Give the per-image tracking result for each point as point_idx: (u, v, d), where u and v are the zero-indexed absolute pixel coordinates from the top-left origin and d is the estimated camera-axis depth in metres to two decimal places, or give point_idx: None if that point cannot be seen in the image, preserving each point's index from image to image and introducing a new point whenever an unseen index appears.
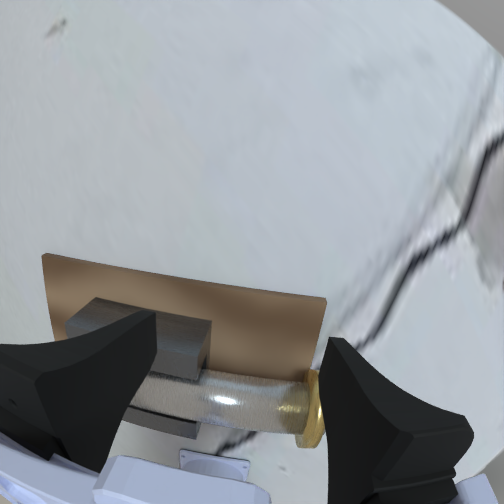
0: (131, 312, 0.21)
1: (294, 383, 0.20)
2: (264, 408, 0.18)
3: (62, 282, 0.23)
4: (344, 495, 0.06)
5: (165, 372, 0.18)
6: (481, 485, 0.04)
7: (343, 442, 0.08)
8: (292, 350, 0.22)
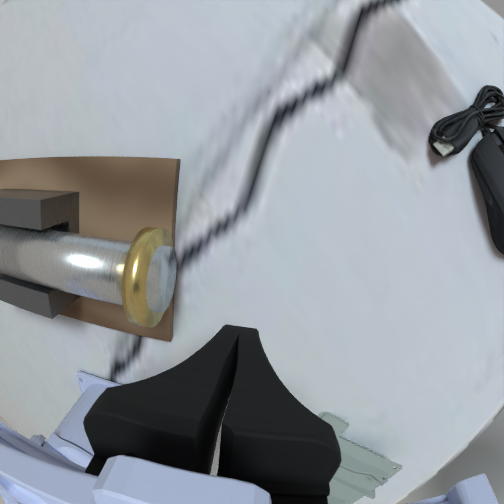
0: (21, 190, 0.20)
1: (132, 241, 0.18)
2: (89, 258, 0.16)
3: None
4: None
5: (21, 226, 0.17)
6: (481, 485, 0.04)
7: None
8: (149, 220, 0.21)
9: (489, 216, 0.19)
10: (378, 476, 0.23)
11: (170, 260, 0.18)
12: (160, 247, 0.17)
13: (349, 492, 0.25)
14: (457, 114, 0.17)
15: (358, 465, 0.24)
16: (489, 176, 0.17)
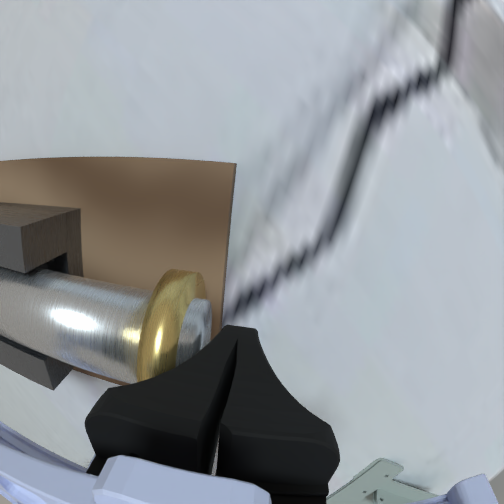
0: (0, 205, 0.13)
1: (146, 290, 0.12)
2: (80, 320, 0.10)
3: None
4: None
5: None
6: (481, 485, 0.04)
7: None
8: (189, 253, 0.14)
9: None
10: None
11: (206, 318, 0.12)
12: (192, 306, 0.11)
13: None
14: None
15: None
16: None
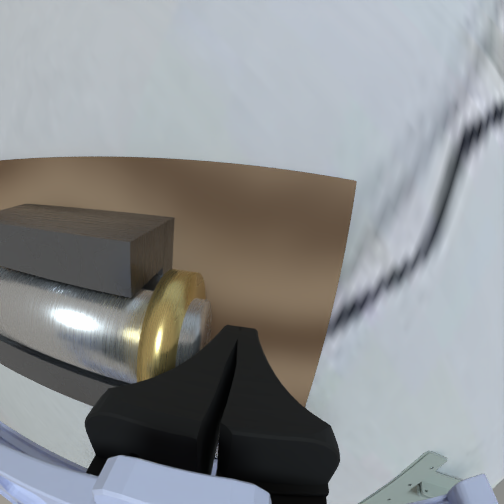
0: (60, 210, 0.13)
1: (146, 290, 0.12)
2: (79, 320, 0.10)
3: None
4: None
5: (82, 285, 0.10)
6: (481, 485, 0.04)
7: None
8: (304, 269, 0.14)
9: None
10: None
11: (207, 318, 0.12)
12: (192, 306, 0.11)
13: None
14: None
15: None
16: None
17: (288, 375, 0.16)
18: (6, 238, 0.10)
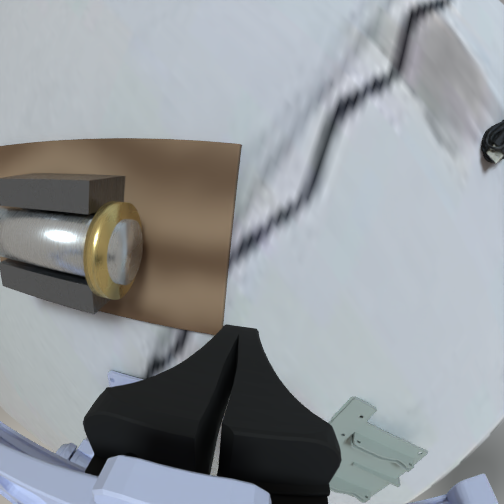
0: (54, 174, 0.19)
1: None
2: (58, 231, 0.16)
3: (8, 167, 0.20)
4: None
5: (62, 210, 0.16)
6: (481, 485, 0.04)
7: None
8: (207, 207, 0.20)
9: None
10: (405, 462, 0.22)
11: (135, 233, 0.18)
12: (123, 220, 0.17)
13: (374, 481, 0.25)
14: (502, 123, 0.16)
15: (385, 451, 0.23)
16: None
17: (204, 293, 0.22)
18: (19, 187, 0.16)
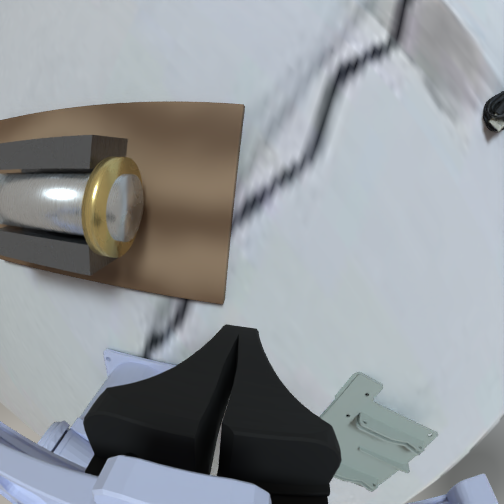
0: None
1: None
2: (58, 187, 0.15)
3: (10, 139, 0.20)
4: None
5: (63, 167, 0.15)
6: (481, 485, 0.04)
7: None
8: (210, 166, 0.19)
9: None
10: (414, 445, 0.22)
11: (136, 190, 0.17)
12: (124, 174, 0.16)
13: (382, 468, 0.24)
14: (501, 94, 0.16)
15: (393, 433, 0.23)
16: None
17: (206, 258, 0.21)
18: (20, 149, 0.15)
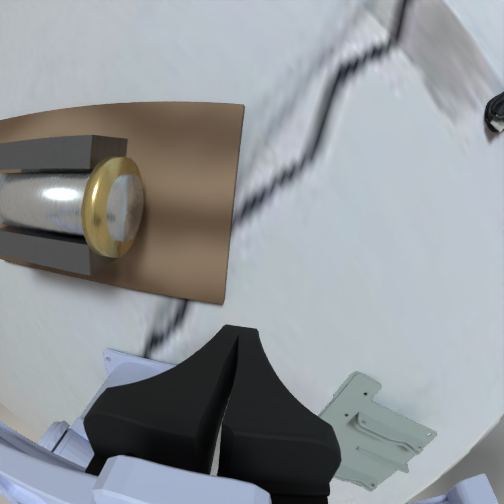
0: None
1: None
2: (58, 187, 0.15)
3: (10, 139, 0.20)
4: None
5: (63, 167, 0.15)
6: (481, 485, 0.04)
7: None
8: (210, 166, 0.19)
9: None
10: (413, 444, 0.21)
11: (136, 190, 0.17)
12: (124, 174, 0.16)
13: (381, 467, 0.24)
14: (502, 94, 0.16)
15: (392, 432, 0.22)
16: None
17: (206, 258, 0.21)
18: (20, 149, 0.15)
